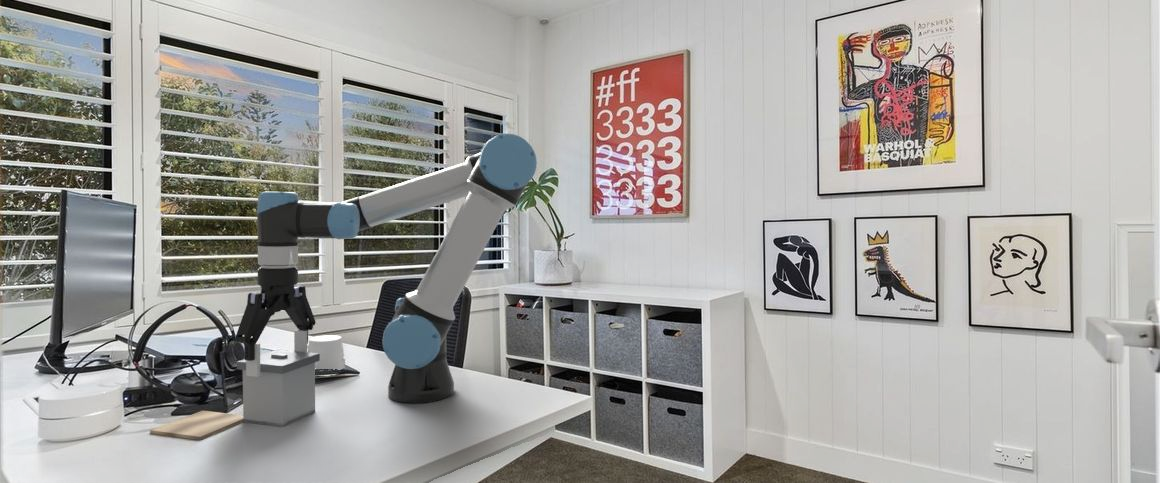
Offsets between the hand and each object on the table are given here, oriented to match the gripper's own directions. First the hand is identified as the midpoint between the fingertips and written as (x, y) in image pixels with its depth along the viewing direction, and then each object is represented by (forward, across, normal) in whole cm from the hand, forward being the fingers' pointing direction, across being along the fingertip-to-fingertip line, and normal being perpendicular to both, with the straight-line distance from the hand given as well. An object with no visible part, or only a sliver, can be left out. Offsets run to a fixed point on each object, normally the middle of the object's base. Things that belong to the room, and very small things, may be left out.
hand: (278, 367), depth 129 cm
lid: (0, 0, 0) cm, 0 cm away
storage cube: (+10, 0, 0) cm, 10 cm away
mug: (+11, -31, -14) cm, 36 cm away
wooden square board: (+11, +9, -11) cm, 17 cm away
